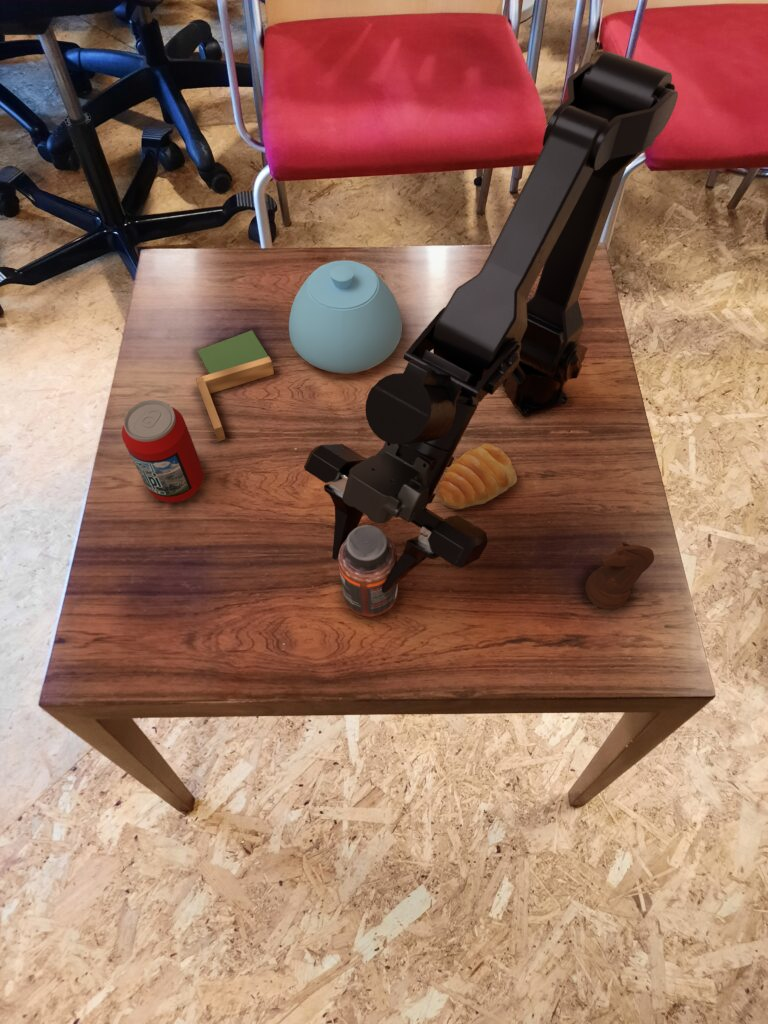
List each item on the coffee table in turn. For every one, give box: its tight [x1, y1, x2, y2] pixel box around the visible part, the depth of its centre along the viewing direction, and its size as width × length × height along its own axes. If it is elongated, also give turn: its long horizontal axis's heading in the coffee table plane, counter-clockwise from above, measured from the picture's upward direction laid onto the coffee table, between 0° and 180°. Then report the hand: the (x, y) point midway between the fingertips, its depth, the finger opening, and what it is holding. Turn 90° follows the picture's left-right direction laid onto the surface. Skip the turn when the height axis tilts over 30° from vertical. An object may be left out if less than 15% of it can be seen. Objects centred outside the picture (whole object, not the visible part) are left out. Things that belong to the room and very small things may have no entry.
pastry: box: [437, 443, 518, 510], centre depth 86 cm, size 9×7×4 cm
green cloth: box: [196, 329, 270, 374], centre depth 98 cm, size 8×6×1 cm
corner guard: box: [195, 356, 275, 442], centre depth 93 cm, size 10×9×2 cm
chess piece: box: [585, 541, 655, 611], centre depth 76 cm, size 5×5×10 cm
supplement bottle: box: [337, 524, 398, 618], centre depth 75 cm, size 6×6×11 cm
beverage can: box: [121, 399, 204, 503], centre depth 82 cm, size 7×7×12 cm
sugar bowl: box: [288, 260, 403, 375], centre depth 95 cm, size 15×15×12 cm
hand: (359, 574), depth 74 cm, fingers closed on supplement bottle, 6 cm apart
